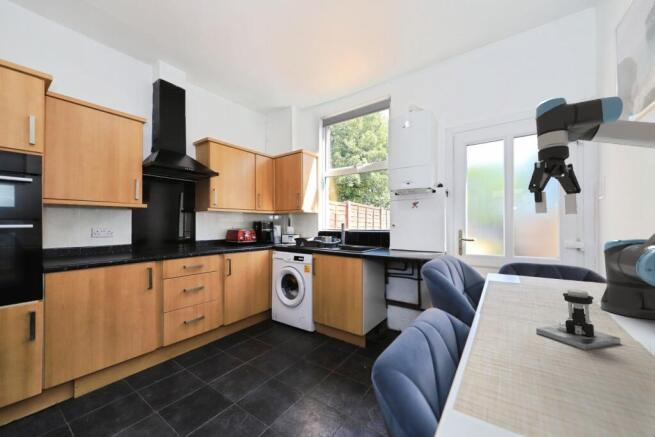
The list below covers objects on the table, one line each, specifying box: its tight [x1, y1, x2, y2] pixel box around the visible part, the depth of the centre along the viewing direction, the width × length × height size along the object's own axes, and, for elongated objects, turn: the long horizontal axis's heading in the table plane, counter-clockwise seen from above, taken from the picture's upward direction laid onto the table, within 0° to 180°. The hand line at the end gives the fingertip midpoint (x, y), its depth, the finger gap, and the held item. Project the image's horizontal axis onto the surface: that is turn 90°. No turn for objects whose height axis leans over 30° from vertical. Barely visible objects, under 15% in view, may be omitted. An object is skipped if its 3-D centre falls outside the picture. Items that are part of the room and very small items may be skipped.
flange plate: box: [535, 324, 622, 351], centre depth 62 cm, size 12×10×1 cm
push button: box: [557, 289, 595, 337], centre depth 62 cm, size 7×5×10 cm
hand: (556, 213), depth 81 cm, fingers open, 13 cm apart
